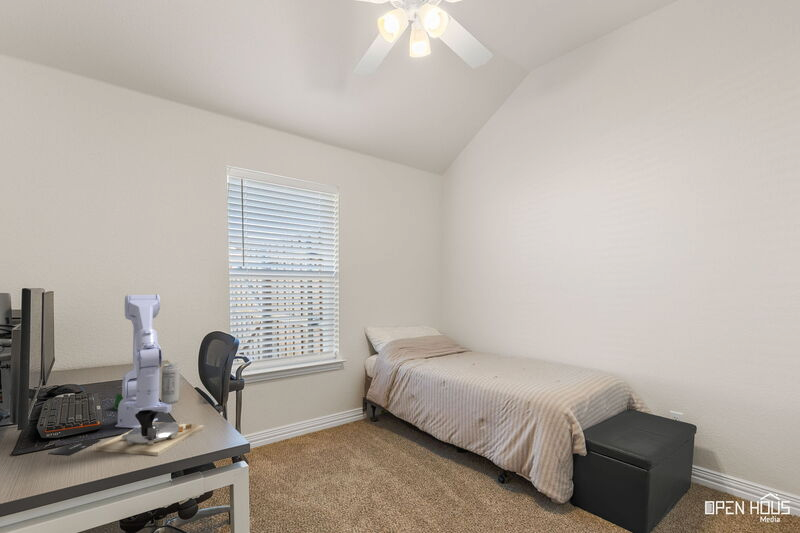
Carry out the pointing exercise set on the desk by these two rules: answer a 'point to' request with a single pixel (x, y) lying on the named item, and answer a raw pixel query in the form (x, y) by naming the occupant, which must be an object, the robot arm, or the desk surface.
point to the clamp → (118, 401)
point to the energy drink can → (170, 383)
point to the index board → (146, 449)
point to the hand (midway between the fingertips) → (146, 435)
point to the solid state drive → (74, 447)
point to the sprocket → (153, 433)
